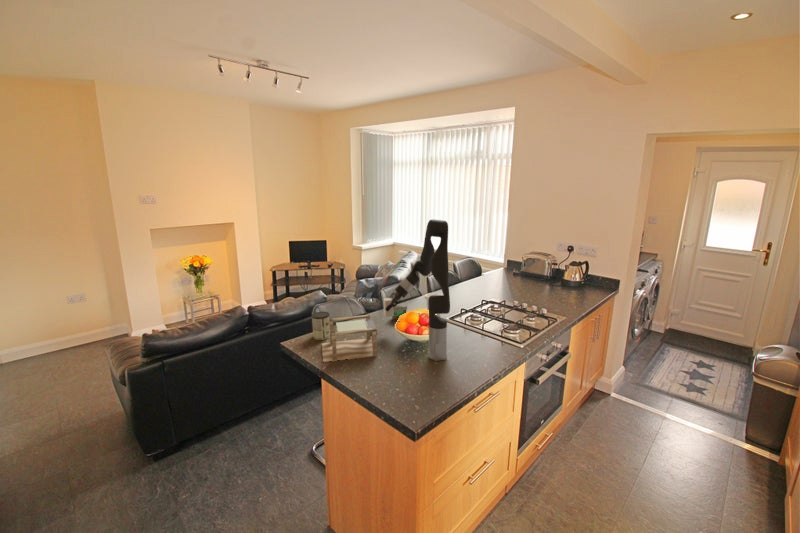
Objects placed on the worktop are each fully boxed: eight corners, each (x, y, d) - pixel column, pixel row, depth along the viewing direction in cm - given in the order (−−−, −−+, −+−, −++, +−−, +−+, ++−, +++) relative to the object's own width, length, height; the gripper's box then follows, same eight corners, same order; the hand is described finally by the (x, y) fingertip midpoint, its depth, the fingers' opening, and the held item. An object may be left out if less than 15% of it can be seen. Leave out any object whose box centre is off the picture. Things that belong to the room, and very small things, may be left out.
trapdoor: (377, 335, 192) (377, 328, 192) (338, 341, 188) (338, 333, 187) (372, 323, 210) (371, 317, 209) (336, 328, 205) (335, 321, 204)
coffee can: (316, 332, 224) (314, 311, 221) (332, 333, 223) (331, 311, 220) (310, 339, 214) (309, 317, 211) (327, 340, 213) (326, 317, 210)
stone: (393, 316, 218) (393, 300, 216) (385, 316, 216) (385, 300, 214) (391, 313, 222) (391, 297, 220) (383, 314, 221) (383, 298, 219)
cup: (443, 319, 243) (444, 297, 240) (425, 319, 243) (425, 298, 240) (442, 313, 255) (442, 292, 252) (424, 313, 255) (424, 292, 252)
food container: (386, 320, 243) (386, 306, 241) (391, 317, 249) (391, 303, 247) (403, 323, 238) (403, 308, 236) (407, 320, 243) (407, 306, 241)
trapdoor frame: (377, 355, 192) (376, 329, 189) (323, 362, 186) (321, 335, 182) (370, 338, 214) (369, 314, 211) (321, 344, 207) (320, 319, 204)
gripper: (397, 281, 224) (378, 301, 224) (403, 287, 210) (383, 308, 210) (405, 289, 226) (387, 309, 226) (412, 295, 213) (392, 316, 212)
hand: (385, 308), depth 218 cm, fingers closed on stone, 5 cm apart
